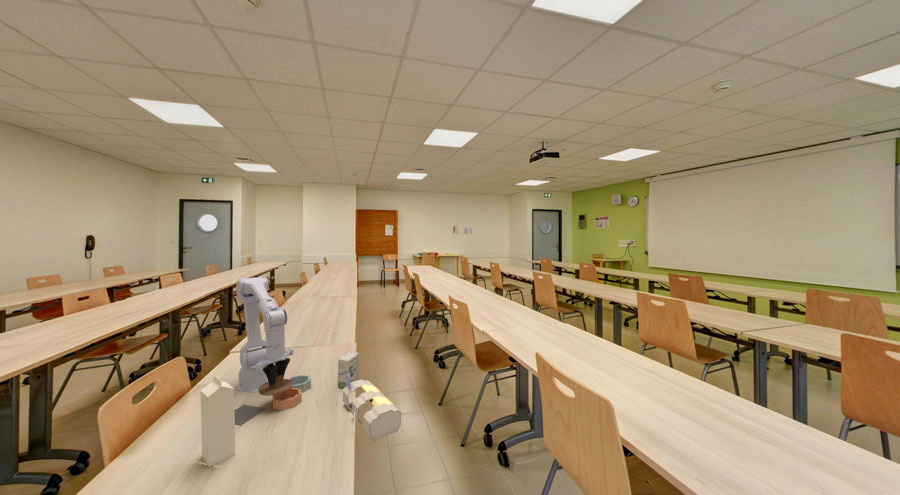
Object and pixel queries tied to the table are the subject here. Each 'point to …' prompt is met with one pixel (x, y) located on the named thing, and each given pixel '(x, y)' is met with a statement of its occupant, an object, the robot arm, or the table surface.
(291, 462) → the table surface
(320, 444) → the table surface
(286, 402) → the bowl terracotta
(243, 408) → the mat
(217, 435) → the milk
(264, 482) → the table surface
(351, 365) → the ink box
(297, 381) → the bowl slate
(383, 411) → the beige chunky openwork piece
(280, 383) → the lid
